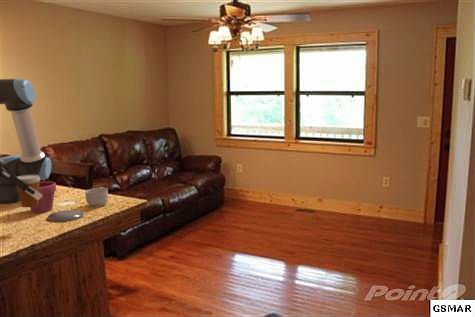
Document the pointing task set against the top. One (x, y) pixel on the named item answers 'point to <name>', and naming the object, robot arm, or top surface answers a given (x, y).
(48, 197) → the plant pot
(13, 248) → the top surface
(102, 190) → the teacup
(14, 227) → the top surface
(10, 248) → the top surface
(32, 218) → the top surface
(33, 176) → the disposable coffee cup
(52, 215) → the gray dome
